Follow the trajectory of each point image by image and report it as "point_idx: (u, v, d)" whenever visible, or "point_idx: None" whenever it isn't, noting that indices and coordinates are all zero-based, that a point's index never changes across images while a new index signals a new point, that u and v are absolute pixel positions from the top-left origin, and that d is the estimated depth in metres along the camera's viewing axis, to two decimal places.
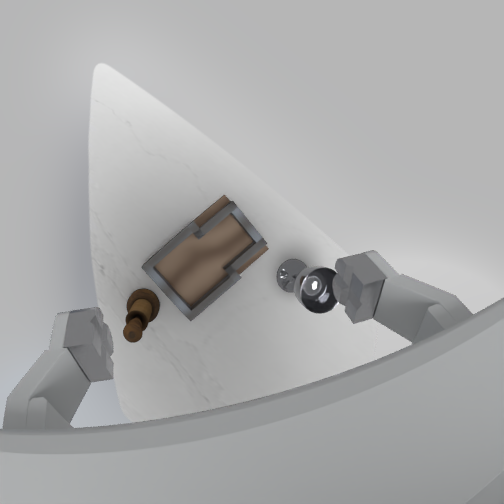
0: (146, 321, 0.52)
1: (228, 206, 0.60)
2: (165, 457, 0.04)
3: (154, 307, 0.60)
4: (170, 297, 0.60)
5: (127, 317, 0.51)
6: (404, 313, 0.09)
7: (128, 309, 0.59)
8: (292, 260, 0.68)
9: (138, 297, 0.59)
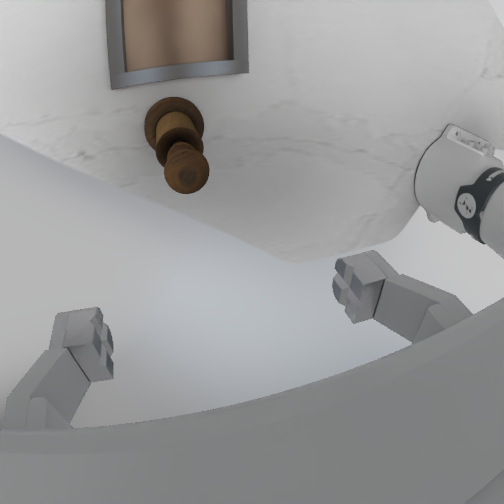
0: (191, 133, 0.25)
1: None
2: (165, 457, 0.04)
3: (187, 109, 0.31)
4: (189, 74, 0.28)
5: (162, 161, 0.25)
6: (404, 313, 0.10)
7: None
8: None
9: (154, 123, 0.31)
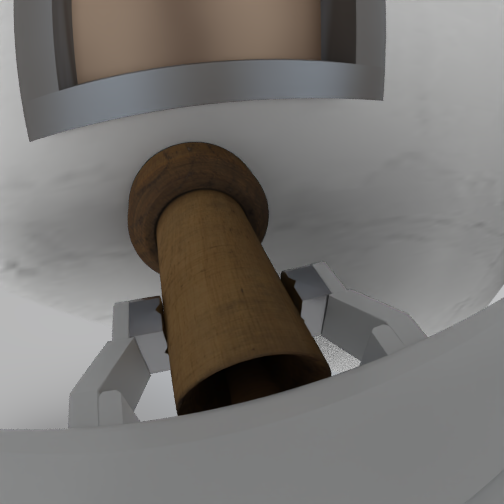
0: (301, 356, 0.07)
1: None
2: (165, 457, 0.04)
3: (233, 184, 0.13)
4: (244, 92, 0.10)
5: None
6: (352, 331, 0.09)
7: None
8: None
9: (150, 222, 0.13)
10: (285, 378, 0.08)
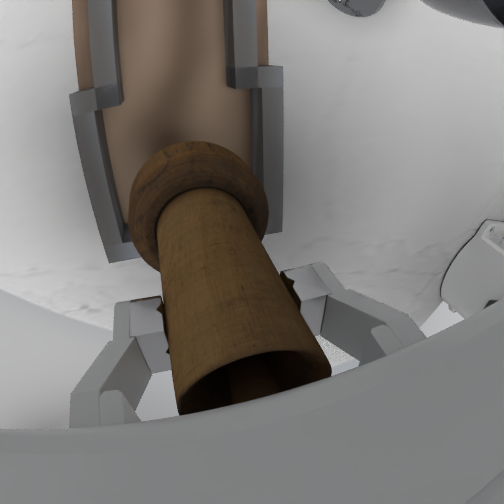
0: (302, 352, 0.07)
1: None
2: (165, 457, 0.04)
3: (233, 182, 0.13)
4: None
5: None
6: (350, 332, 0.09)
7: None
8: None
9: (151, 220, 0.13)
10: (285, 375, 0.09)
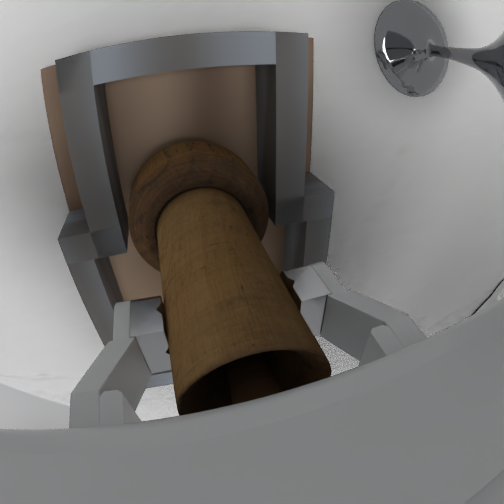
0: (301, 352, 0.07)
1: (64, 87, 0.10)
2: (165, 457, 0.04)
3: (233, 182, 0.13)
4: None
5: None
6: (351, 332, 0.09)
7: None
8: (387, 13, 0.14)
9: (151, 220, 0.13)
10: (285, 375, 0.09)
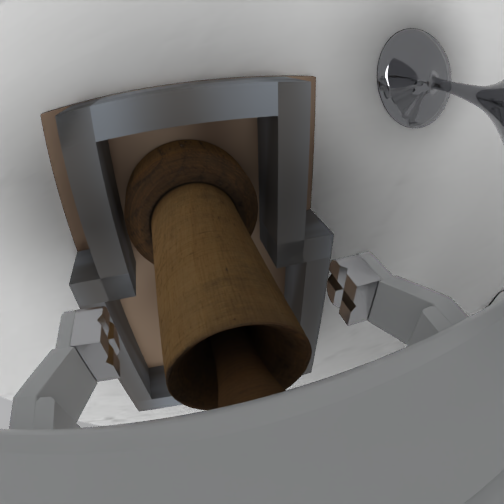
0: (281, 328, 0.08)
1: (67, 144, 0.11)
2: (165, 457, 0.04)
3: (223, 178, 0.14)
4: None
5: (188, 397, 0.08)
6: (399, 315, 0.09)
7: None
8: (390, 45, 0.15)
9: (145, 214, 0.13)
10: (269, 355, 0.09)
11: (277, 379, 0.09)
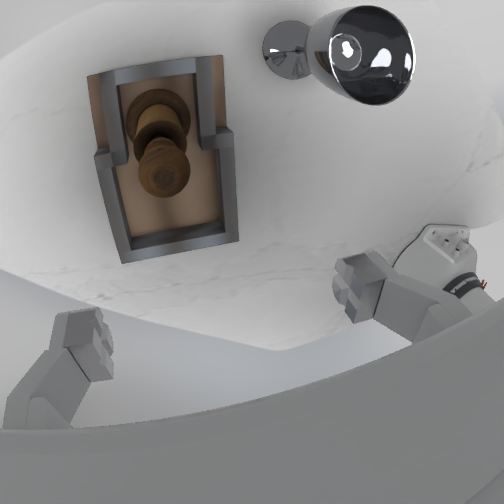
0: (173, 126, 0.21)
1: (103, 85, 0.24)
2: (165, 457, 0.04)
3: (171, 101, 0.27)
4: (187, 248, 0.37)
5: (141, 159, 0.22)
6: (404, 313, 0.09)
7: None
8: (270, 33, 0.28)
9: (135, 118, 0.27)
10: None
11: None
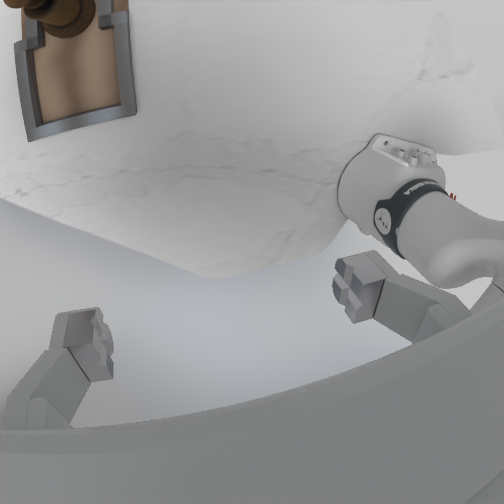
0: None
1: None
2: (165, 457, 0.04)
3: None
4: (85, 123, 0.32)
5: (28, 13, 0.17)
6: (404, 313, 0.10)
7: (53, 32, 0.24)
8: None
9: None
10: (54, 2, 0.18)
11: (53, 7, 0.18)
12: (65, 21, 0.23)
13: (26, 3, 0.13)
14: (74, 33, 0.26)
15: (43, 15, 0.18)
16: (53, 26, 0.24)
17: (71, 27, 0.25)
